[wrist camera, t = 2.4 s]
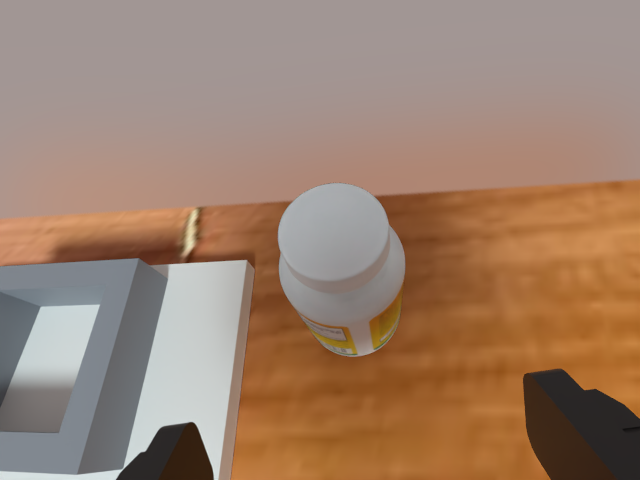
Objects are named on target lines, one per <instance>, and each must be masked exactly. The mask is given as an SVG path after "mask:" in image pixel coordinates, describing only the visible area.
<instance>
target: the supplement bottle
mask: <svg viewBox="0 0 640 480" xmlns="http://www.w3.org/2000/svg"><path fill="white" fill-rule="evenodd" d="M278 244H279V248H280V251H281V255H280V260H279V276H280V282H281V285H282V288H283V290H284V293H285V295H286V296H287V298H288V300H289V301H290V303H291V304H292V306H293V307H294V309H295V310H296V311H297V313H298V314H299V316H300V317H301V318H302V320H303V321H304V322H305V324H306V325H307V327H308V328H309V330H310V331H311V332H312V334H313V335H314V336H315V338H316V339H317V340H318V341H319V342H320V343H321V344H322V345H323V346H324V347H326V348H327V349H329V350H330V351H332V352H334V353H337V354H340V355H344V356H363V355H367V354H370V353H372V352H374V351H376V350H378V349H380V348H381V347H382V346H384V345H385V344H386V343H387V342H388V341H389V339H390V338H391V337H392V335H393V334H394V332H395V330H396V328H397V326H398V323H399V319H400V314H401V304H402V294H403V285H404V277H405V254H404V250H403V247H402V244H401V242H400V239H399V238H398V236H397V234H396V233H395V231H394V230H393V229H392V227H391V226H390V225H389V223H388V218H387V215H386V212H385V210H384V208H383V207H382V205H381V204H380V202H379V201H378V200H377V199H376V198H375V197H374V196H373V195H372V194H370V193H369V192H368V191H366V190H364V189H362V188H360V187H357V186H354V185H350V184H344V183H329V184H324V185H320V186H316V187H314V188H311V189H309V190H307V191H306V192H304V193H302V194H301V195H300V196H298V197H297V198H296V199H295V200H294V201H293V202H292V203H291V204H290V205H289V206H288V207H287V209H286V210H285V212H284V214H283V216H282V218H281V221H280V224H279V229H278Z"/></svg>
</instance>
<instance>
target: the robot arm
mask: <svg viewBox="0 0 640 480" xmlns="http://www.w3.org/2000/svg"><path fill="white" fill-rule="evenodd" d="M523 386H524V401H525V416H526V429H527V433H528V437H529V440H530V443H531V446H532V448H533V450H534V453H535V454H536V456H537V458H538V460H539V461H540V463H541V465H542V466H543V468H544V469H545V471H546V472H547V474H548V476H549V477H550V479H551V480H640V419H639V418H638V417H637V416H636V415H635V414H634V413H633V412H632V411H630V410H629V409H628V408H627V407H626V406H625V405H624V404H622V403H620V402H618V401H617V400H615V399H613V398H611V397H609V396H607V395H606V394H604V393H602V392H600V391H598V390H597V389H592V390H585V391H584V390H583V389H582V388H581V387H580V386H579V385H578V384H577V383H576V382H575V381H574V380H573V379H572V378H571V377H570V376H569V375H568V374H567V373H566V372H565V371H564V370H562V369H553V370H546V371H539V372H533V373H526V374H525V375H524V378H523ZM116 480H214V474H213V469H212V465H211V463H210V460H209V457H208V454H207V452H206V449H205V446H204V443H203V441H202V438H201V435H200V432H199V430H198V427H197V425H196V424H195V423H193V422H187V423H181V424H174V425H167V426H163V427H161V428H160V429H159V430H158V431H157V433H156V435H155V436H154V438H153V440H152V441H151V443H150V445H149V446H148V448H147V450H146V451H145V452H140V453H139V454H138V455H137V456H136V457H135V458H134V459H133V460H132V461H131V462H130V463H129V464H128V465H127V466H126V467H125V468H124V469H123V470H122V471H121V472H120V474H119V475H118V477H117V479H116Z"/></svg>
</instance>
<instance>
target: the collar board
mask: <svg viewBox="0 0 640 480" xmlns="http://www.w3.org/2000/svg"><path fill="white" fill-rule="evenodd" d="M254 274H255V269H254V268H253V267H252V266H251V264H250V263H249V262H248V261H247V260H237V261H219V262H201V263H183V264H165V265H148V264H146V263H145V262H144V261H142V260H141V259H139V258H134V259H117V260H100V261H84V262H67V263H50V264H34V265H17V266H0V480H116V479H117V477H118V475H119V474H120V472H121V471H122V470H123V469H124V468H125V467H126V466H127V465H128V464H129V463H130V462H131V461H132V460H133V459H134V458H135V457H136V456H137V455H138V454H139V453H140V452H145V451H146V450H147V448H148V446H149V445H150V443H151V441H152V440H153V438H154V436H155V435H156V433H157V431H158V430H159V429H160V428H161V427H163V426H167V425H174V424H181V423H187V422H193V423H195V424H196V425H197V427H198V430H199V432H200V435H201V438H202V441H203V443H204V446H205V449H206V452H207V454H208V457H209V460H210V463H211V465H212V469H213V474H214V480H230V479H231V471H232V462H233V454H234V445H235V436H236V428H237V419H238V411H239V402H240V394H241V385H242V376H243V368H244V359H245V351H246V342H247V334H248V325H249V316H250V308H251V299H252V291H253V282H254Z"/></svg>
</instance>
